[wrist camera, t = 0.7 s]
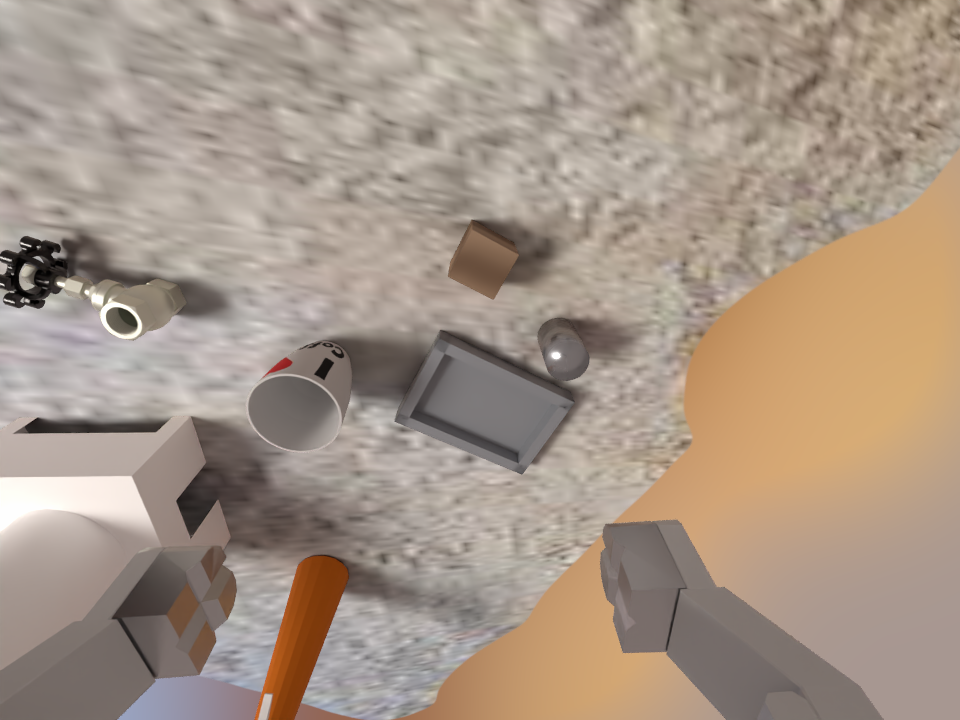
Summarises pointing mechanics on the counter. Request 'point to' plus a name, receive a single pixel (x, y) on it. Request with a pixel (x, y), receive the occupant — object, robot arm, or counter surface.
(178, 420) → the white cylinder stand
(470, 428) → the parts tray
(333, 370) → the cup
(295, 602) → the spray bottle
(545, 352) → the metal cylinder
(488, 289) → the walnut block
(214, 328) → the counter surface
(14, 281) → the valve
